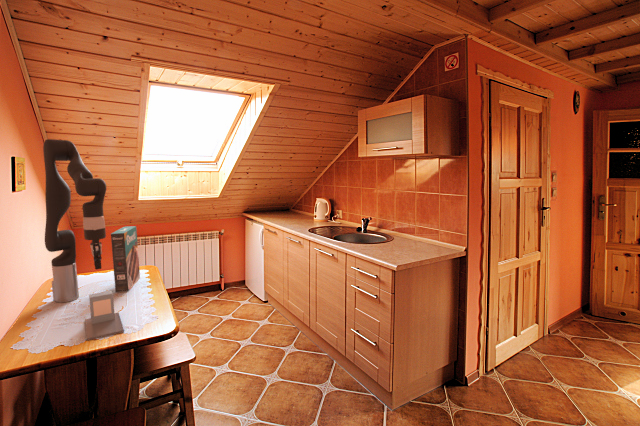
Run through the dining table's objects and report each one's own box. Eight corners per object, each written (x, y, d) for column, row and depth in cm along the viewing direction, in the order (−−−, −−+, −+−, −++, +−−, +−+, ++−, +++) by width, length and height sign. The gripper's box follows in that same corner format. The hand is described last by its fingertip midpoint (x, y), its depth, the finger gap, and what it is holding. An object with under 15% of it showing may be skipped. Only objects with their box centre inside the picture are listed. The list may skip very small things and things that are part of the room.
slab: (91, 324, 140) (89, 297, 139) (91, 320, 143) (88, 294, 142) (115, 319, 145) (112, 293, 143) (114, 315, 148) (111, 290, 147)
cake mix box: (128, 291, 180) (124, 233, 176) (115, 292, 179) (110, 233, 175) (140, 278, 201) (136, 226, 197) (128, 278, 200) (124, 226, 196)
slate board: (85, 321, 145) (85, 319, 145) (118, 314, 152) (118, 312, 151) (86, 340, 128) (86, 338, 128) (123, 332, 135) (123, 330, 135)
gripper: (83, 225, 149) (86, 264, 151) (84, 230, 137) (87, 273, 139) (103, 224, 153) (107, 262, 155) (106, 228, 141) (109, 270, 143)
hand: (97, 267), depth 147 cm, fingers open, 5 cm apart
